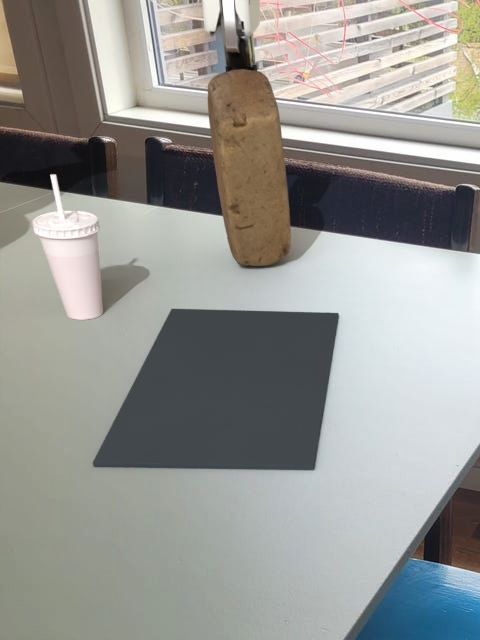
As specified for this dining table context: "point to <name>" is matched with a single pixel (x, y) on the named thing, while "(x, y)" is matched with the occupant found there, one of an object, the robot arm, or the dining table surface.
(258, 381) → the mat
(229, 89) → the block
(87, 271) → the smoothie
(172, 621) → the dining table surface
